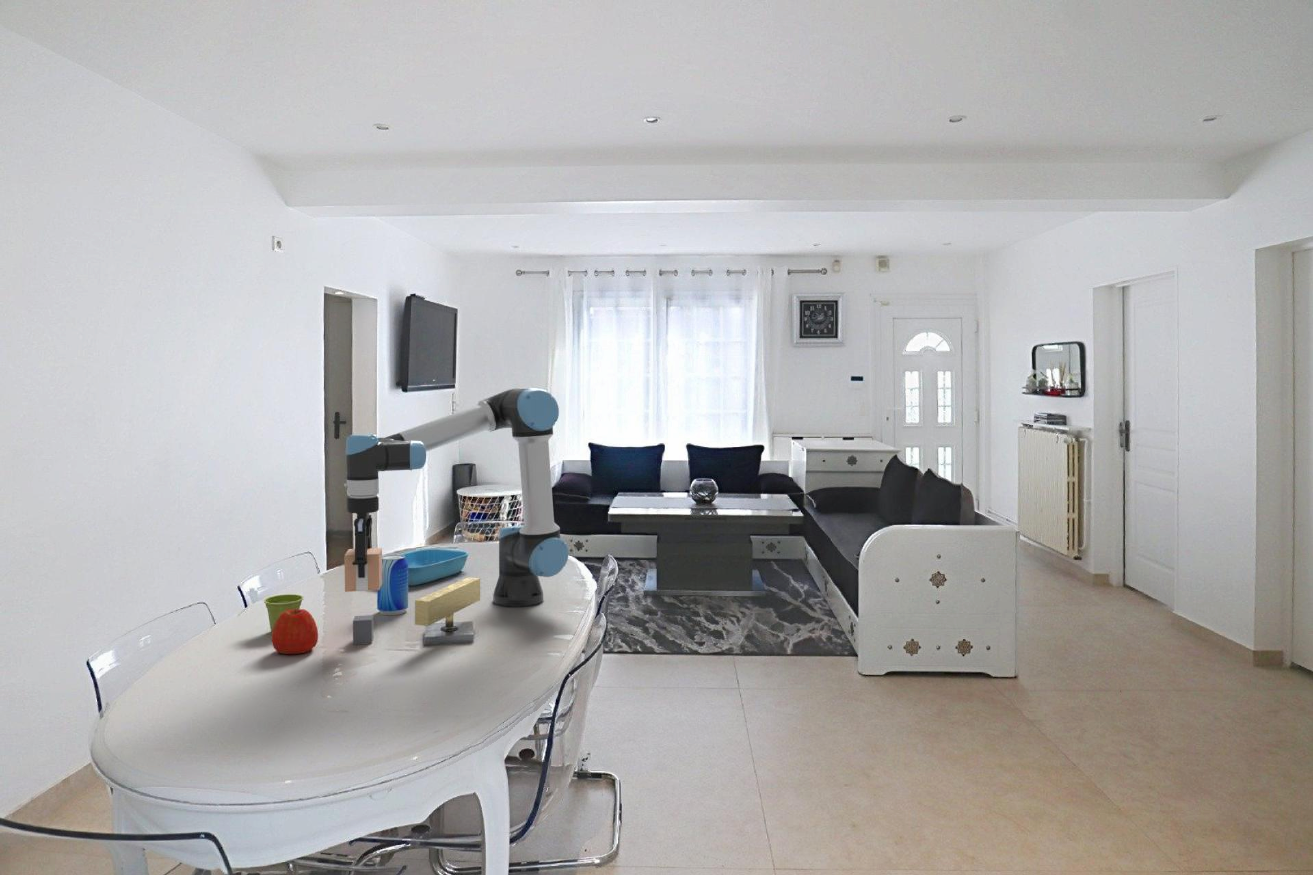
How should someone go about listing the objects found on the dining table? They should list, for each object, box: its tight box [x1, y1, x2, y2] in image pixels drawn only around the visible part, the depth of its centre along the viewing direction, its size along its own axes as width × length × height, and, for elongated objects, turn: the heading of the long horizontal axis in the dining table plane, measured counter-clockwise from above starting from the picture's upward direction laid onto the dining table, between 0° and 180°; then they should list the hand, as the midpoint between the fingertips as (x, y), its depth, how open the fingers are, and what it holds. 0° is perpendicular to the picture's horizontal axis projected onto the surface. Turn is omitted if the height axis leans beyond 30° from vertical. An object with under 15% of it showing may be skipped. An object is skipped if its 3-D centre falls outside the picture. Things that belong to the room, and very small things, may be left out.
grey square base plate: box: [423, 620, 475, 646], centre depth 205 cm, size 12×12×2 cm
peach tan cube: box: [343, 547, 383, 593], centre depth 199 cm, size 8×8×9 cm
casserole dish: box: [397, 548, 470, 586], centre depth 273 cm, size 37×22×7 cm, turn 159°
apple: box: [271, 608, 319, 655], centre depth 192 cm, size 10×10×10 cm
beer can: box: [376, 554, 409, 616], centre depth 227 cm, size 8×8×16 cm
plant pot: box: [263, 593, 304, 634], centre depth 208 cm, size 9×9×9 cm
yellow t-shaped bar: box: [414, 577, 481, 628], centre depth 205 cm, size 26×4×10 cm, turn 164°
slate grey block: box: [352, 614, 375, 645], centre depth 200 cm, size 4×4×6 cm
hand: (364, 585), depth 200 cm, fingers closed on peach tan cube, 8 cm apart
